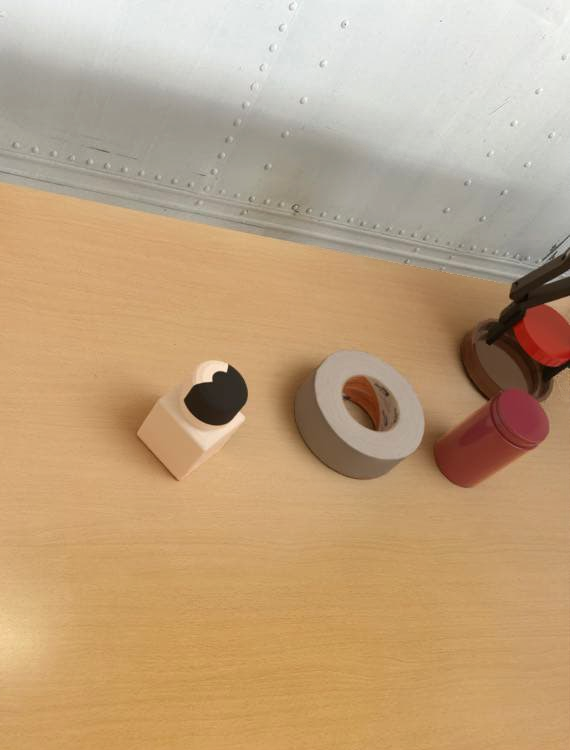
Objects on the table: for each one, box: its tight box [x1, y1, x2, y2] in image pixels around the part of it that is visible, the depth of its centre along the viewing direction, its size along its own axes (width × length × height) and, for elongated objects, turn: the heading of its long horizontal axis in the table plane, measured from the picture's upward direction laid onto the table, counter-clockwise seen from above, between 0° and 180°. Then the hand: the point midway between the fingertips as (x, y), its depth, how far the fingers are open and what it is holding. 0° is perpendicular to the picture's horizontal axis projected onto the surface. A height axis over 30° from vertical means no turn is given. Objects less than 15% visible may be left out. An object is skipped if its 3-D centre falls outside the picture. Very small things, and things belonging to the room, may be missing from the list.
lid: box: [513, 303, 570, 367], centre depth 105 cm, size 9×9×2 cm
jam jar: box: [433, 389, 550, 489], centre depth 97 cm, size 8×8×12 cm
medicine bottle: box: [136, 359, 249, 481], centre depth 81 cm, size 7×7×12 cm
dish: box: [461, 317, 555, 405], centre depth 111 cm, size 14×14×3 cm
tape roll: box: [293, 349, 426, 480], centre depth 95 cm, size 15×15×5 cm
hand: (517, 356), depth 110 cm, fingers closed on lid, 9 cm apart
